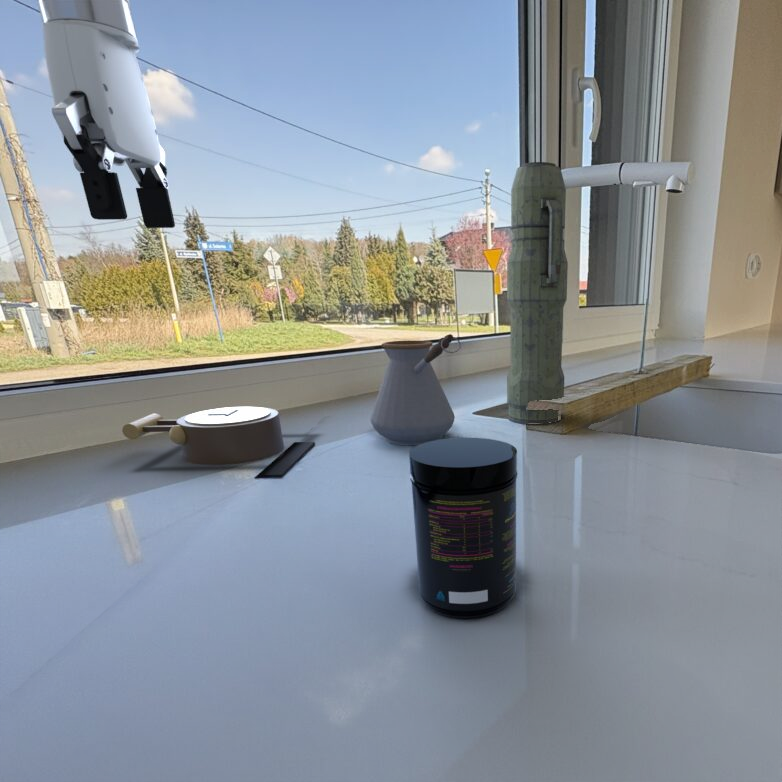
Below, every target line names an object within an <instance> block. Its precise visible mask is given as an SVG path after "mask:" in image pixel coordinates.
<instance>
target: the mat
mask: <svg viewBox="0 0 782 782" xmlns="http://www.w3.org/2000/svg"><path fill="white" fill-rule="evenodd" d="M315 445H316V442H315V441H294V442H293V443H291V444H290V446H288V447H287V448H286V449H285V450H284V451H285V453H284V455H283V456H282V457H281V458H279V459H277V460H275V459H274V460H275V461H274V460H273V461H272V462H270V463H269V464H268V465H267V466H266V467H264V469H262V470H261V471H260V472H259V473H257V474H256V476H254V477H253V479H282V478H284V477H285V476H286V475H287V473H289V472H290V471H291V469H292V468H293V467H294V466H295V465H296V464H297V463H299V462H300V460H301V459H302V458H303V457H304V456H306V454H307V453H309V452H310V450H311V449H312V448H313V447H314V446H315Z"/></svg>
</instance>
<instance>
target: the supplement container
mask: <svg viewBox="0 0 782 782" xmlns="http://www.w3.org/2000/svg"><path fill="white" fill-rule="evenodd" d="M408 458H409V471H410V472H409V473H410V474H409V477H410V479H409V480H410V482H411V493H412V509H413V522H414V536H415V550H416V565H417V577H418V579H417V580H418V593H419V596H420V598H421V600H422V602H423V603H424V605H425V606H426V607H427V608H428V609H430V610H431V611H432V612H434V613H435V614H437V615H440V616H443V617H446V618H451V619H458V620H472V619H481V618H484V617H489V616H491V615H494V614H496V613H498V612H500V611H502V610H504V608H505V607H507V606H508V605H509V604H510V602H511V601H512V600H513V598H514V596H515V595H516V591H517V479H518V450H517V448H516V447H515V446H514V445H513V444H510V443H509V442H505V441H502V440H497V439H492V438H485V437H484V438H483V437H451V438H450V437H449V438H441V439H440V440H435V441H430V442H426V443H423V444H420V445H415V446H414V447H412V448H411V449H410V450H409V452H408Z"/></svg>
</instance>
